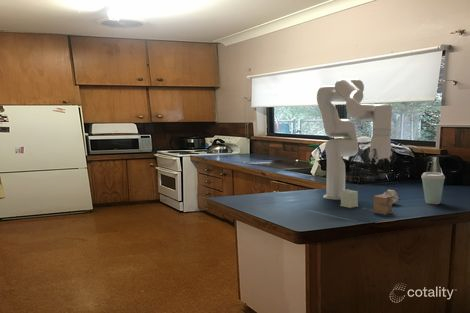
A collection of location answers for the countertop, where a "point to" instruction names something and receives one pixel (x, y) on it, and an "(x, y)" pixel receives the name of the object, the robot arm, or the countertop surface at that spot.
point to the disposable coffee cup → (433, 186)
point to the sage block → (349, 198)
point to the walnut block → (382, 204)
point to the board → (370, 210)
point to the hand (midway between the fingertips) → (380, 171)
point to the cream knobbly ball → (391, 193)
